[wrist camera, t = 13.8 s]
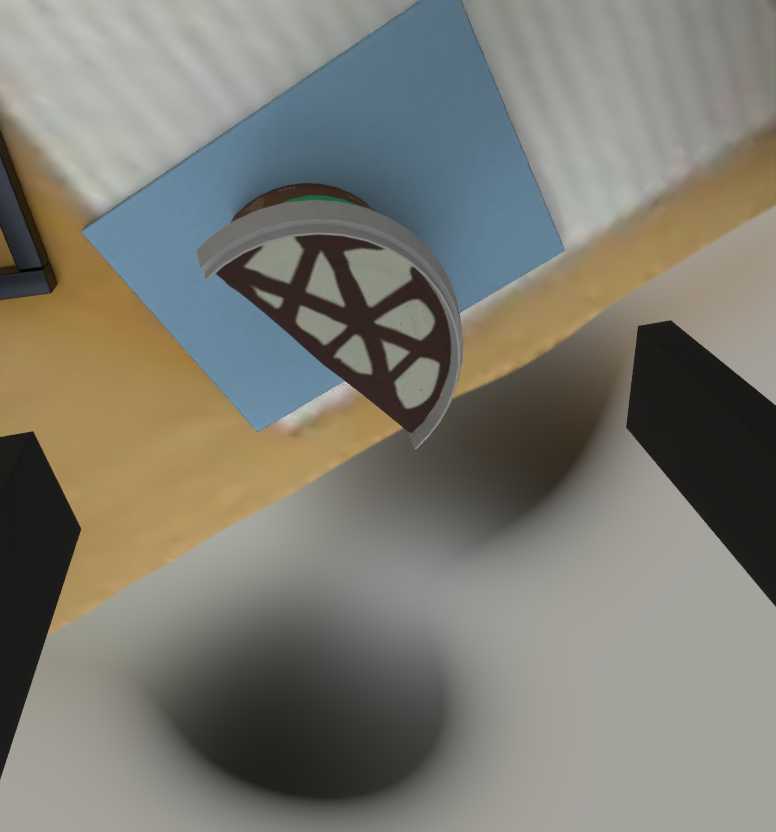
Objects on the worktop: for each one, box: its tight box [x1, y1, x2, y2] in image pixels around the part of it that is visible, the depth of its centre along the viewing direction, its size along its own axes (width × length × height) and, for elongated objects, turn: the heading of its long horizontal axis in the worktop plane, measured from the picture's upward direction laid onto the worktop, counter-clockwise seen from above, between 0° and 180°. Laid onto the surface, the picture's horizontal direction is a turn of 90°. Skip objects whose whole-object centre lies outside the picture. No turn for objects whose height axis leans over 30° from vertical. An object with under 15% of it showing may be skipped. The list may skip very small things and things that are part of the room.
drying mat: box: [81, 0, 565, 432], centre depth 34 cm, size 20×14×1 cm
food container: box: [197, 183, 463, 449], centre depth 29 cm, size 12×6×10 cm, turn 43°
